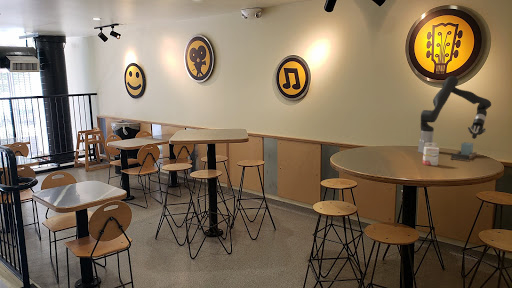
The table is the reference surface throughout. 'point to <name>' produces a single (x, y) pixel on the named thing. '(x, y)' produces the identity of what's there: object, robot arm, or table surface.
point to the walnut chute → (462, 156)
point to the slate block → (466, 148)
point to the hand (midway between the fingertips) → (473, 138)
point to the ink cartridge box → (430, 154)
